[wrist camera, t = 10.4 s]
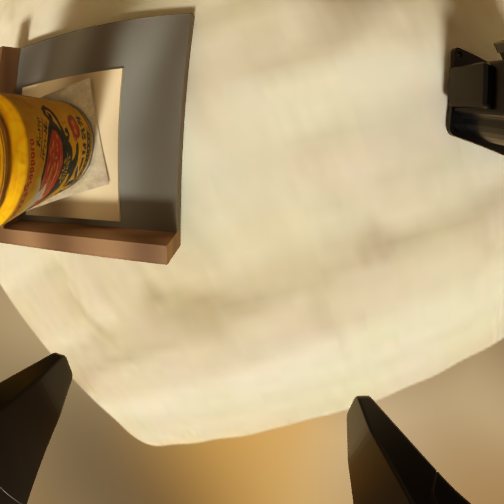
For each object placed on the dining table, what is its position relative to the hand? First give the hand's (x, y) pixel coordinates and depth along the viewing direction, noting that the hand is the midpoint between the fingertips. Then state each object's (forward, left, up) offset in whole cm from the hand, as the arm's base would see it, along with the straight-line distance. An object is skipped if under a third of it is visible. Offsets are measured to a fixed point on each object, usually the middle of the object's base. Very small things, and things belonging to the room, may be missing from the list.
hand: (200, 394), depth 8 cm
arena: (+11, -7, -13) cm, 18 cm away
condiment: (+13, -6, -11) cm, 18 cm away
